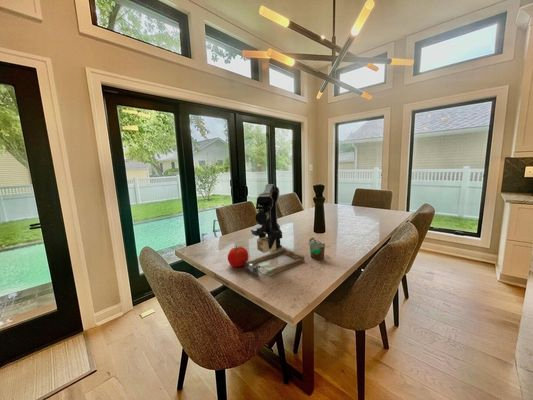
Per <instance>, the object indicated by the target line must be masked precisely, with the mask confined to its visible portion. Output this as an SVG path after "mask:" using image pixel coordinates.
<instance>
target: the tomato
mask: <svg viewBox="0 0 533 400" xmlns="http://www.w3.org/2000/svg"><path fill="white" fill-rule="evenodd" d="M247 260H248V261H249V254H248V250H247V249H246V248H245V247H243V246H237V245H236V246H235V247H232V248H231V249H230V250H229V252H228V255H227V262H228V263H229V264H230V266H231V267H233V268H239V267H243V266H245V261H247Z"/></svg>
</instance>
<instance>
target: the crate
mask: <svg viewBox="0 0 533 400" xmlns="http://www.w3.org/2000/svg"><path fill="white" fill-rule="evenodd" d="M266 237H268V235H266ZM266 237H262V238H259V237H258V238H257V239H256V249H257V251H260V252H262V254H264V253H265V254H266V253H268V252H271V251H272V252H273V251H274V250H277V248H276V240H275V242H274V244H273V246H272V248H271V249H269V244H268V239H266Z"/></svg>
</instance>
